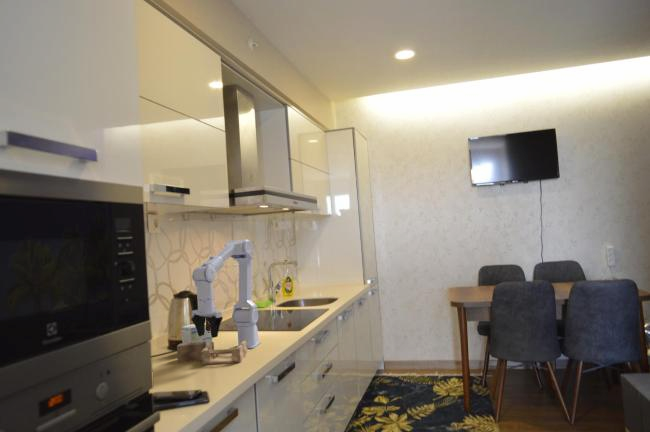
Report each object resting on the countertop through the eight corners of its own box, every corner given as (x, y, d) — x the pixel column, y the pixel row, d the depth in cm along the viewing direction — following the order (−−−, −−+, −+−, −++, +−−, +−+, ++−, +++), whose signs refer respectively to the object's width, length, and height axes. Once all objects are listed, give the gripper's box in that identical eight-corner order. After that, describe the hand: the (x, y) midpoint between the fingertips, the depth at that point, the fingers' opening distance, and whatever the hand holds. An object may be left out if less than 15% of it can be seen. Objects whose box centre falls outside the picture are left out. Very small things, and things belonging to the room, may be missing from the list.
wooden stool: (211, 355, 185) (211, 342, 185) (247, 352, 185) (246, 339, 185) (202, 365, 171) (201, 351, 171) (240, 362, 171) (239, 348, 171)
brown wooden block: (177, 361, 179) (176, 346, 180) (181, 359, 183) (180, 343, 184) (204, 360, 179) (202, 344, 180) (206, 357, 183) (205, 341, 184)
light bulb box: (204, 346, 202) (202, 321, 202) (213, 348, 197) (212, 322, 198) (182, 352, 193) (180, 326, 194) (192, 354, 189) (190, 327, 189)
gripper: (184, 300, 175) (186, 337, 174) (209, 301, 166) (212, 340, 165) (199, 297, 180) (202, 333, 180) (225, 298, 171) (227, 335, 171)
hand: (208, 336), depth 173 cm, fingers open, 7 cm apart
